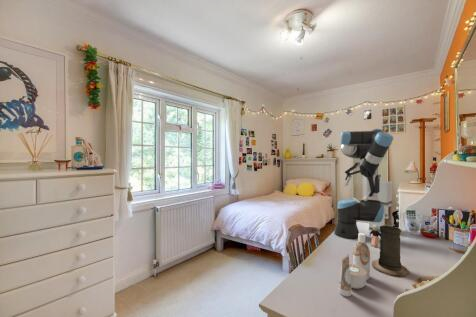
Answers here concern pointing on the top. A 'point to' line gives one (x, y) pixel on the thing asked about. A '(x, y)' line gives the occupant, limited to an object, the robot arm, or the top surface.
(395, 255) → the container
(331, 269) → the top surface
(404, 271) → the walnut board
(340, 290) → the cosmetic set
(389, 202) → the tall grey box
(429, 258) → the top surface
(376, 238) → the grandmother figurine
